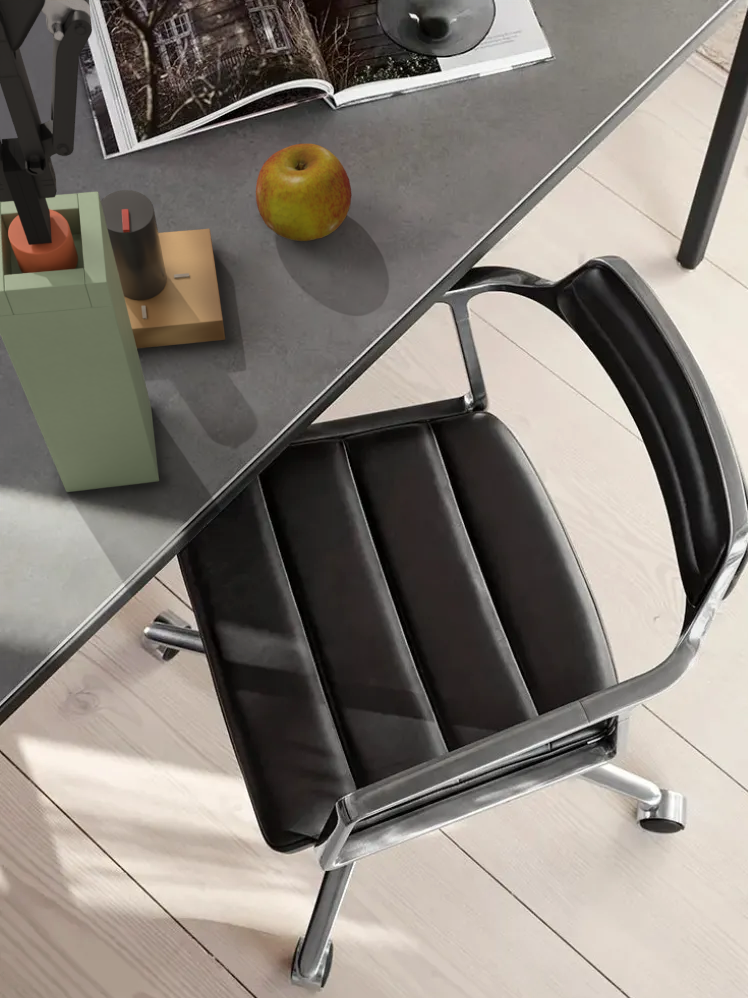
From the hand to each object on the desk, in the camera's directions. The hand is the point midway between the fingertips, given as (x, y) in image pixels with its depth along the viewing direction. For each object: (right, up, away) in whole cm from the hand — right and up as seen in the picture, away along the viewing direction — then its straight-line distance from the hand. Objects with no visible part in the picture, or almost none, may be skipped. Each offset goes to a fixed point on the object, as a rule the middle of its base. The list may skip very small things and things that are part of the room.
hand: (39, 227), depth 75 cm
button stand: (-3, -12, +26) cm, 28 cm away
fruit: (+13, +13, +39) cm, 43 cm away
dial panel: (-1, +3, +33) cm, 33 cm away
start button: (0, -1, +3) cm, 3 cm away
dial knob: (-1, +4, +30) cm, 30 cm away
